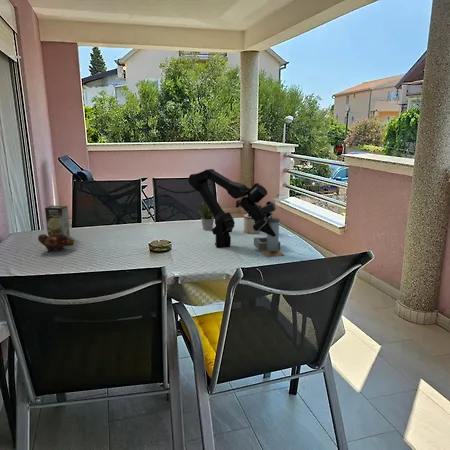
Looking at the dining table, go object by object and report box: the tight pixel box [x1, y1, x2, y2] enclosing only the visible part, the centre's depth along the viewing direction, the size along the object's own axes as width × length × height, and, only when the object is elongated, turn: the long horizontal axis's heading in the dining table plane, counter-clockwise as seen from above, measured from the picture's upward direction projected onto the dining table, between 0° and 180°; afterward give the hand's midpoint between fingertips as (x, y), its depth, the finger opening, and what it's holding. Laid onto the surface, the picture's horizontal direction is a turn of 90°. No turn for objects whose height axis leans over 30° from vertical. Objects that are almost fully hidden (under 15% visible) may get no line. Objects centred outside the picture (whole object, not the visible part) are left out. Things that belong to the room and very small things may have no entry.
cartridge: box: [266, 216, 280, 251], centre depth 172 cm, size 5×5×14 cm
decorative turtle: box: [37, 233, 75, 252], centre depth 179 cm, size 10×15×8 cm, turn 111°
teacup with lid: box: [243, 213, 261, 235], centre depth 210 cm, size 12×9×12 cm
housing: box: [253, 236, 281, 252], centre depth 183 cm, size 10×10×4 cm
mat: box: [261, 249, 285, 258], centre depth 174 cm, size 8×8×1 cm
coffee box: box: [44, 205, 71, 238], centre depth 199 cm, size 9×6×16 cm
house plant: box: [195, 201, 215, 231], centre depth 214 cm, size 14×14×16 cm
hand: (276, 234), depth 172 cm, fingers closed on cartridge, 5 cm apart
